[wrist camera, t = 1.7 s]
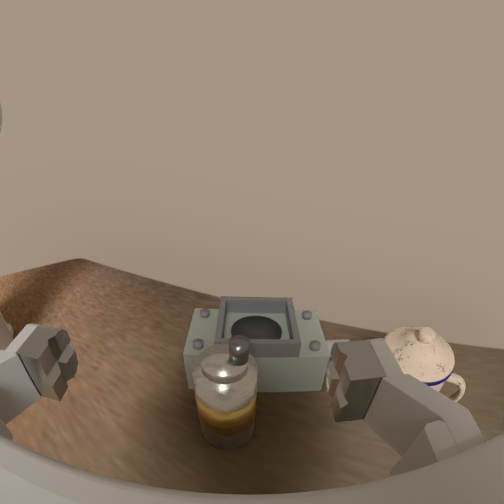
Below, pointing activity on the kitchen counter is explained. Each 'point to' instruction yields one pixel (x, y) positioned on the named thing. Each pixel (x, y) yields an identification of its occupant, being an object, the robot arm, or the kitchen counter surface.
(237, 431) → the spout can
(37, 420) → the kitchen counter surface
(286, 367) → the block
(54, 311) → the kitchen counter surface
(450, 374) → the teacup with lid
